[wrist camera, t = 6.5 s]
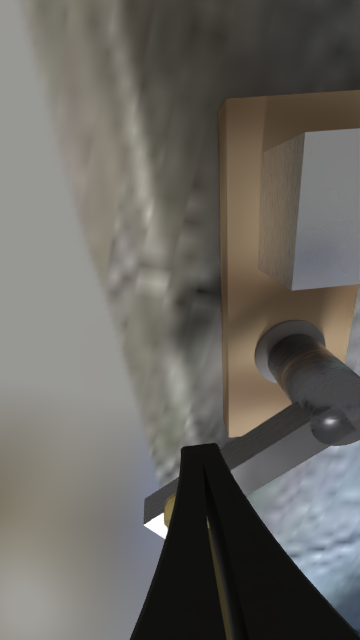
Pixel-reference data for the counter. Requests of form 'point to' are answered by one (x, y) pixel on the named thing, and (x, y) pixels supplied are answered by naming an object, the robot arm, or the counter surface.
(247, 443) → the lever
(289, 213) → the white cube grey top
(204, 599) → the robot arm
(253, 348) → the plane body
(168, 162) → the counter surface
